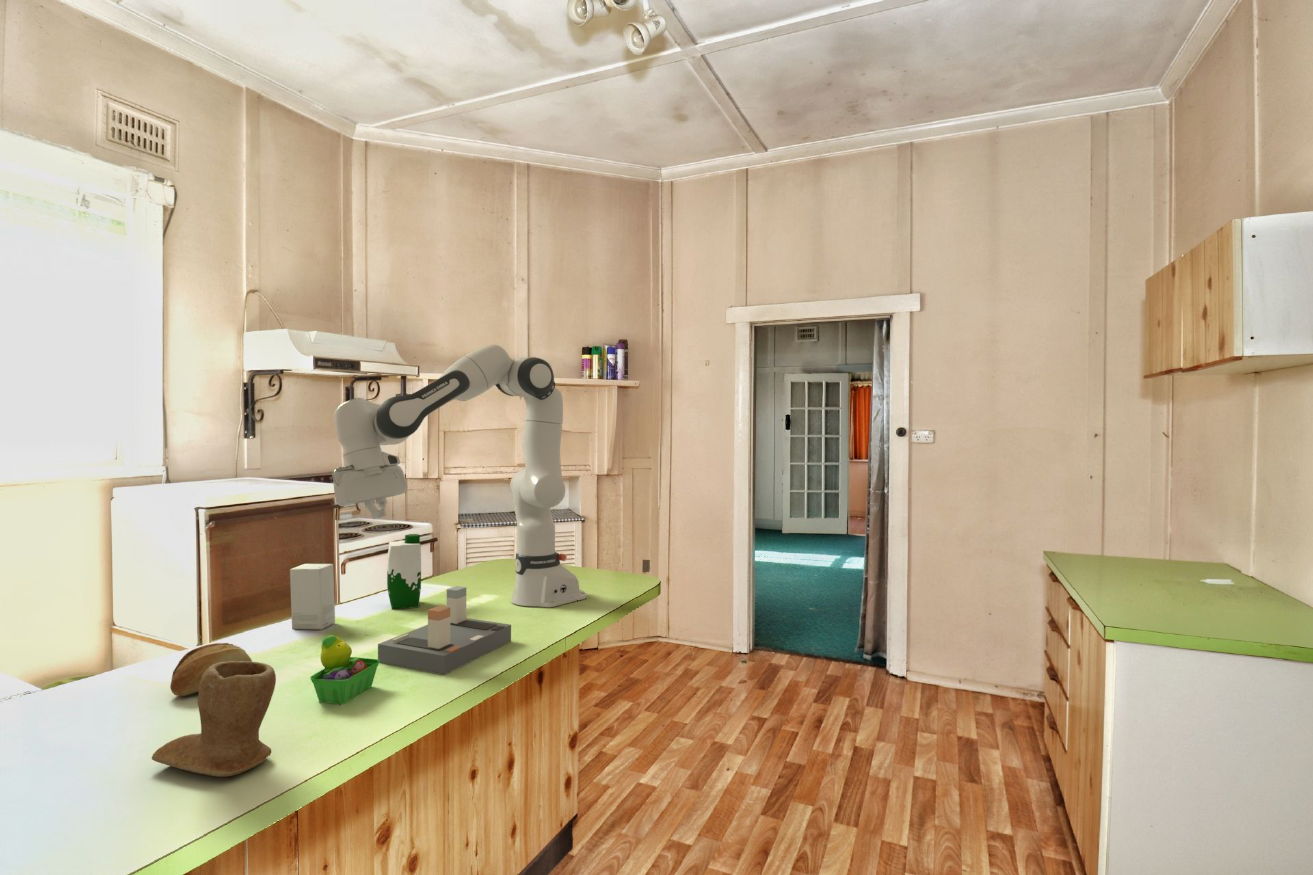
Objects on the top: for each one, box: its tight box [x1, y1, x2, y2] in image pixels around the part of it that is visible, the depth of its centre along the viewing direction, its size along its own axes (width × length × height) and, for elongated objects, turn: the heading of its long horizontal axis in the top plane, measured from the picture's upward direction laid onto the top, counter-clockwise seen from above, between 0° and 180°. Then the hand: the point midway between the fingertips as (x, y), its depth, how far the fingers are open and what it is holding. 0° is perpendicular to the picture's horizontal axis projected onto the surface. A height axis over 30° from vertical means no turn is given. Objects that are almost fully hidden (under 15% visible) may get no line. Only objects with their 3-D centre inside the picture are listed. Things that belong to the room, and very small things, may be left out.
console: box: [377, 617, 512, 676], centre depth 155 cm, size 24×18×5 cm
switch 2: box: [446, 585, 467, 624], centre depth 163 cm, size 4×3×8 cm
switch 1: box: [427, 605, 450, 649], centre depth 145 cm, size 4×3×8 cm
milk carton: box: [386, 533, 422, 610], centre depth 192 cm, size 9×9×20 cm
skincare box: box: [289, 563, 336, 631], centre depth 172 cm, size 8×7×16 cm
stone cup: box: [151, 661, 277, 778], centre depth 103 cm, size 15×12×15 cm
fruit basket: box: [309, 634, 380, 705], centre depth 130 cm, size 11×9×11 cm
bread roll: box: [169, 642, 253, 697], centre depth 133 cm, size 10×15×8 cm, turn 156°
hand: (379, 517), depth 166 cm, fingers closed
